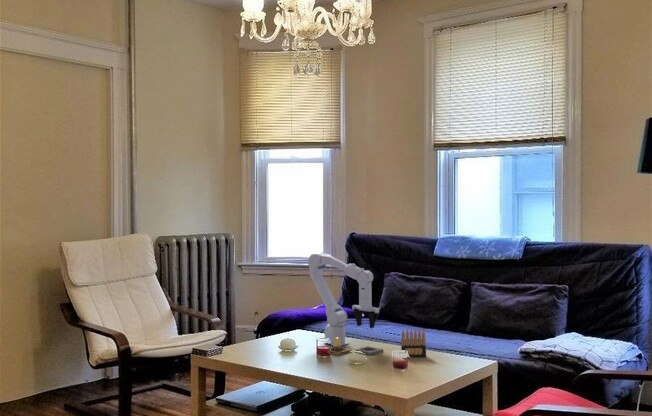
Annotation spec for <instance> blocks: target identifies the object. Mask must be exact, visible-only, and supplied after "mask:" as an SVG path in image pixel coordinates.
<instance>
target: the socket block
mask: <svg viewBox="0 0 652 416" xmlns="http://www.w3.org/2000/svg"><path fill="white" fill-rule="evenodd" d="M355 350H356V351H361V352H363V353H365V354H364V355H367V356H374V355H377V354H380V353H383V352H384V348H379V347H375V346H374V347H373V346H370V345H367V346H363V347H362V346H361V347H360V348H355V349H354V351H355Z"/></svg>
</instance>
